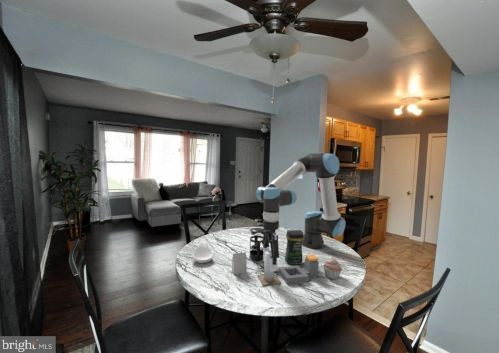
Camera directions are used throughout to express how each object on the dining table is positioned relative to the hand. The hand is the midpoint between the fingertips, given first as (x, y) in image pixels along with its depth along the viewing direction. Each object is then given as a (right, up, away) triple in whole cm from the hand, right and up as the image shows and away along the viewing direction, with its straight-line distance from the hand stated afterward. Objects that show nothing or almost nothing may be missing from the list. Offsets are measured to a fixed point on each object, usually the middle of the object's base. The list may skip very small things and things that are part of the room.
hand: (269, 265), depth 112 cm
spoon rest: (-37, -5, +26) cm, 45 cm away
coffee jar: (+16, -6, +21) cm, 27 cm away
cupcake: (+32, -8, +6) cm, 34 cm away
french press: (-5, -5, +26) cm, 27 cm away
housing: (+15, -7, +5) cm, 18 cm away
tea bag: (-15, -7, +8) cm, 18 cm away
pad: (0, -7, +1) cm, 7 cm away
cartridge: (0, -7, +1) cm, 7 cm away
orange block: (+22, -4, +6) cm, 23 cm away
